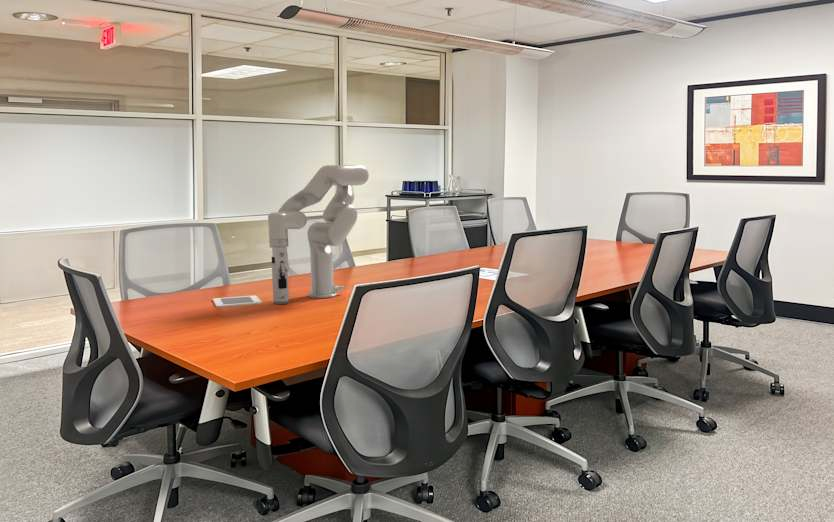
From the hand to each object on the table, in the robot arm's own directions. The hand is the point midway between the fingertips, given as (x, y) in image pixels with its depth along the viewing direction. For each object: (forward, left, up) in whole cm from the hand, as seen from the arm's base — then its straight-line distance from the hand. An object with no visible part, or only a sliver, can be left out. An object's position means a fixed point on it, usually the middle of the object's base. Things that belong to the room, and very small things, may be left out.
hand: (280, 286), depth 296 cm
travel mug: (0, 0, -7) cm, 7 cm away
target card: (+16, -11, -7) cm, 21 cm away
